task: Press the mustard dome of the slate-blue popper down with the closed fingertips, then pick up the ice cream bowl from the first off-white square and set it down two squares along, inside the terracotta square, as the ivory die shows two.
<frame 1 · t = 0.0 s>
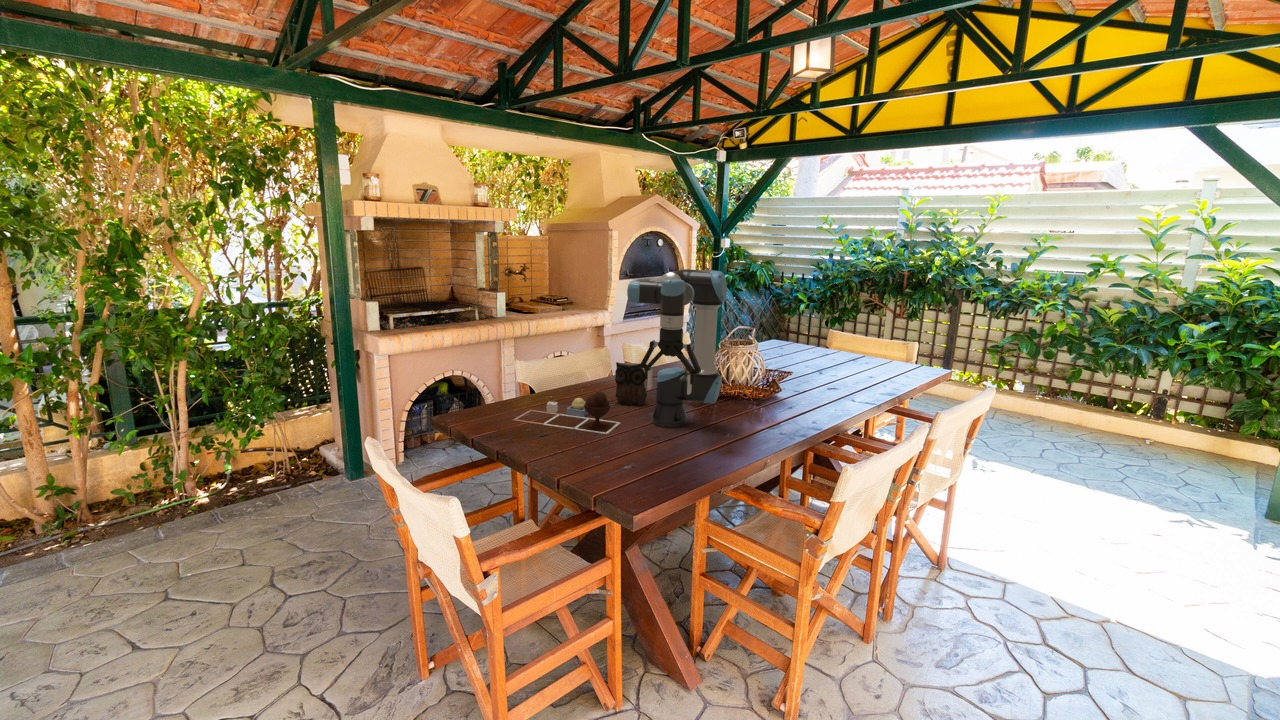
hand: (669, 391, 192), 28 cm above the table, fingers open, 13 cm apart
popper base: (578, 413, 256), on the table
ice cream bowl: (597, 426, 241), on the table
track: (566, 421, 245), on the table
die: (552, 411, 258), on the table
dome: (578, 403, 255), point 5 cm above the table, slide at 0.0 cm
owl: (632, 403, 274), on the table
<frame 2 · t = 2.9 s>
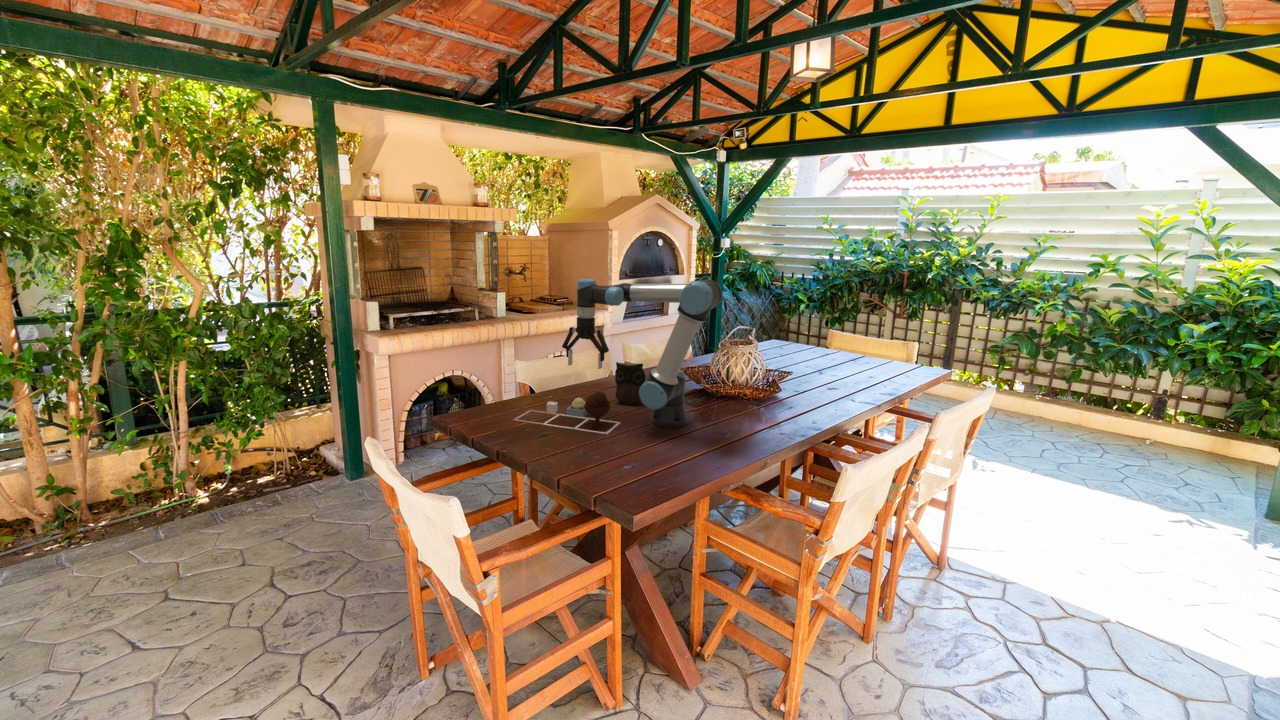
hand: (584, 366, 245), 23 cm above the table, fingers open, 13 cm apart
nothing on the table moved.
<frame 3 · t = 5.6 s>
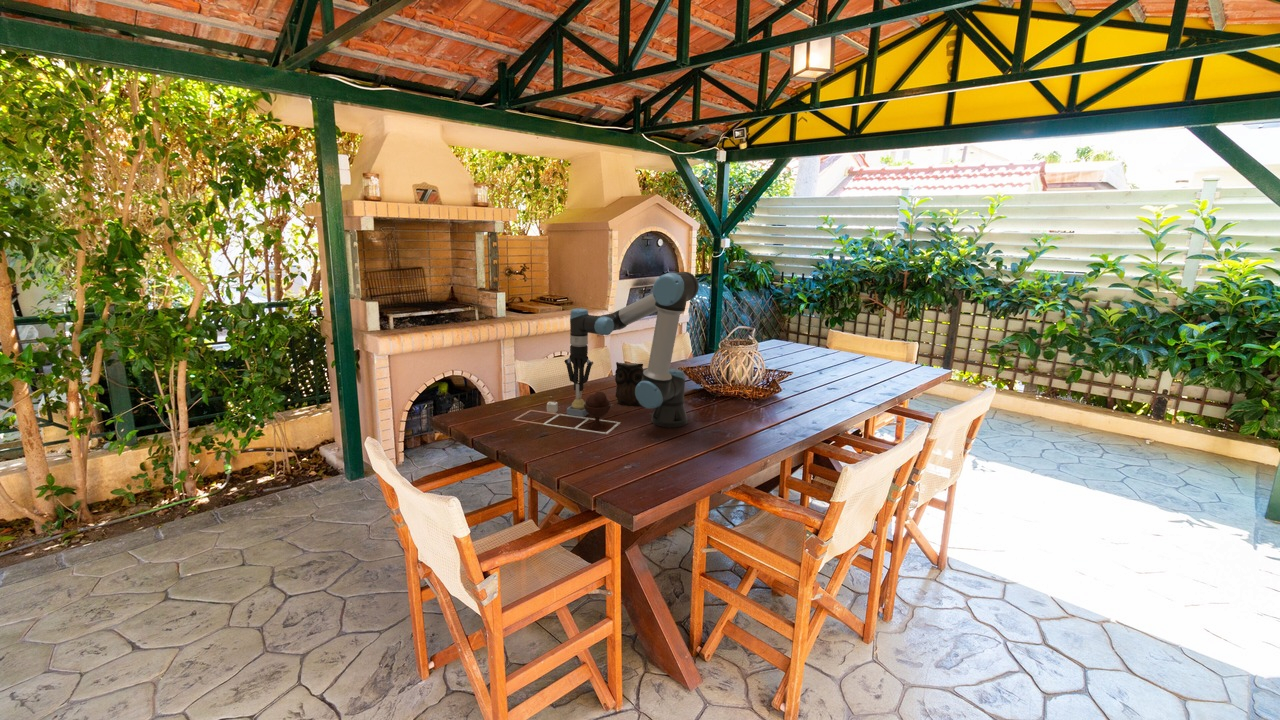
hand: (578, 397, 255), 7 cm above the table, fingers closed
dome: (578, 403, 255), point 4 cm above the table, slide at 0.2 cm, touching gripper
everything else where it was.
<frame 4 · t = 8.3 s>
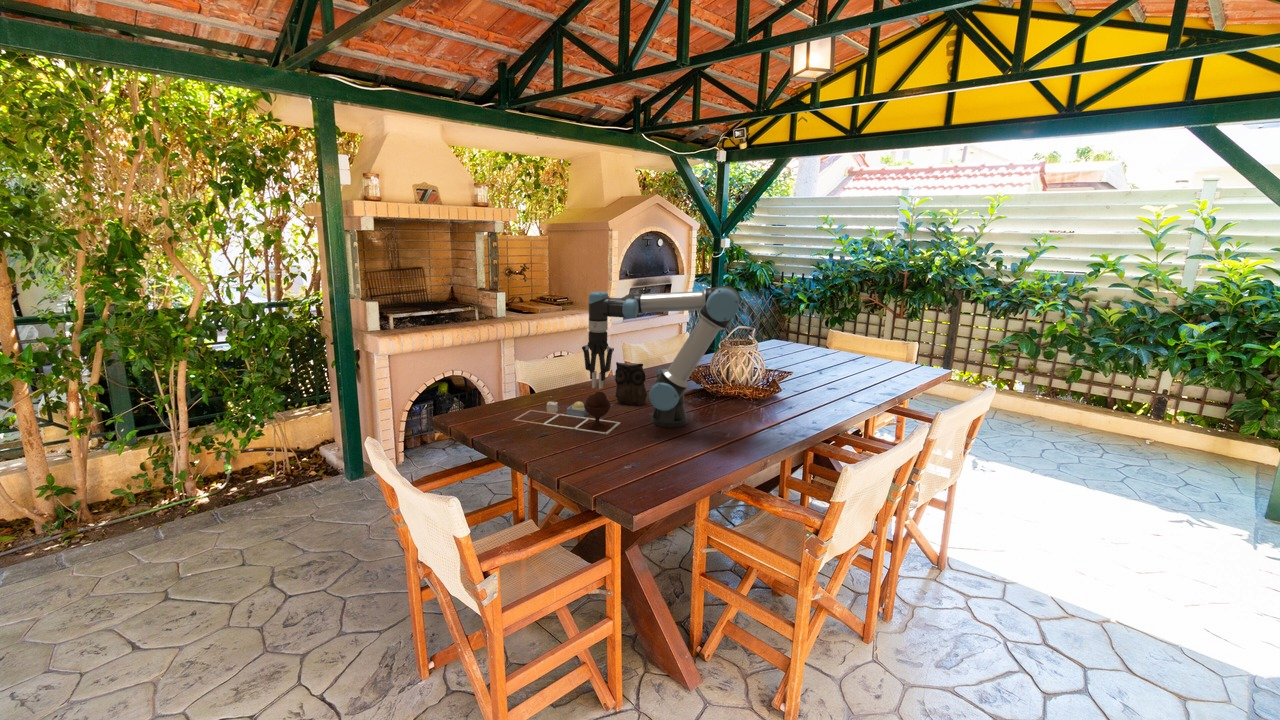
hand: (597, 387, 237), 16 cm above the table, fingers open, 2 cm apart
dome: (578, 407, 255), point 3 cm above the table, slide at 1.7 cm
everything else where it was.
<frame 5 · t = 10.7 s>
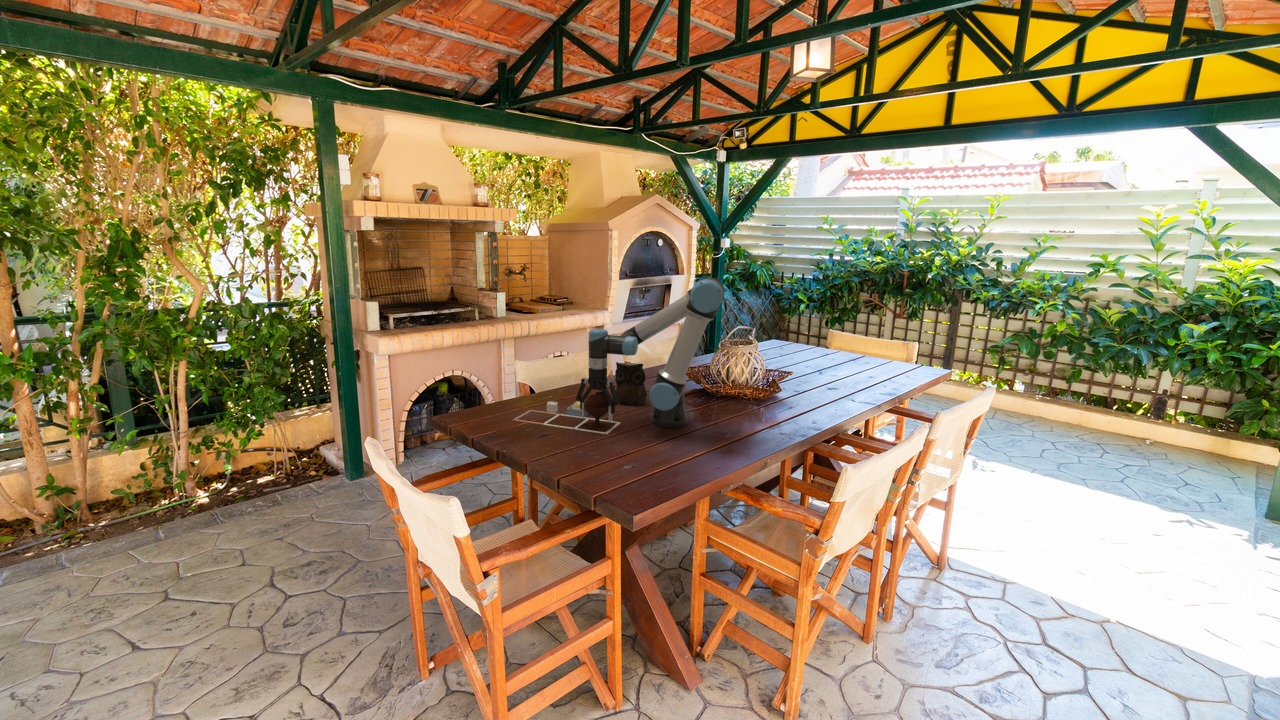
hand: (597, 419, 240), 3 cm above the table, fingers closed on ice cream bowl, 11 cm apart
ice cream bowl: (597, 426, 241), on the table, touching gripper
everything else where it was.
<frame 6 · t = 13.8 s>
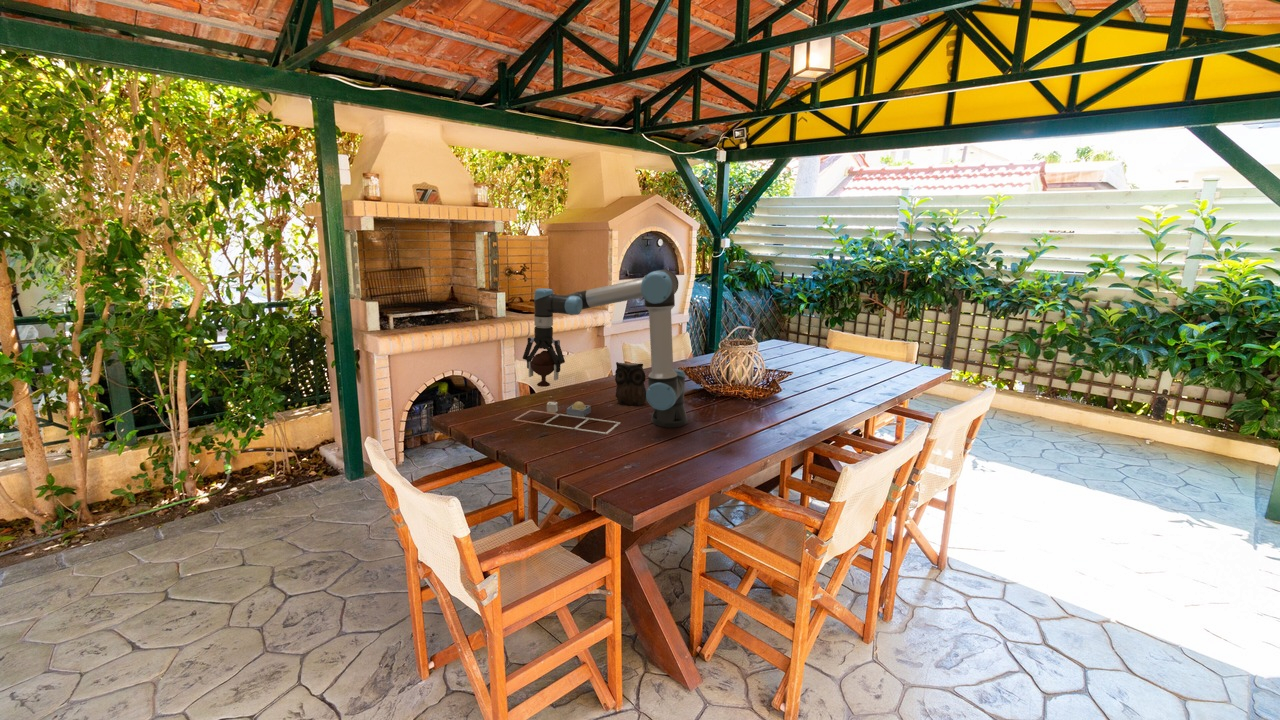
hand: (543, 377, 244), 18 cm above the table, fingers closed on ice cream bowl, 11 cm apart
ice cream bowl: (543, 385, 245), point 15 cm above the table, touching gripper
everything else where it was.
when the fingers open (4 cm above the table, at t = 17.2 s): ice cream bowl stays where it is, on the table.
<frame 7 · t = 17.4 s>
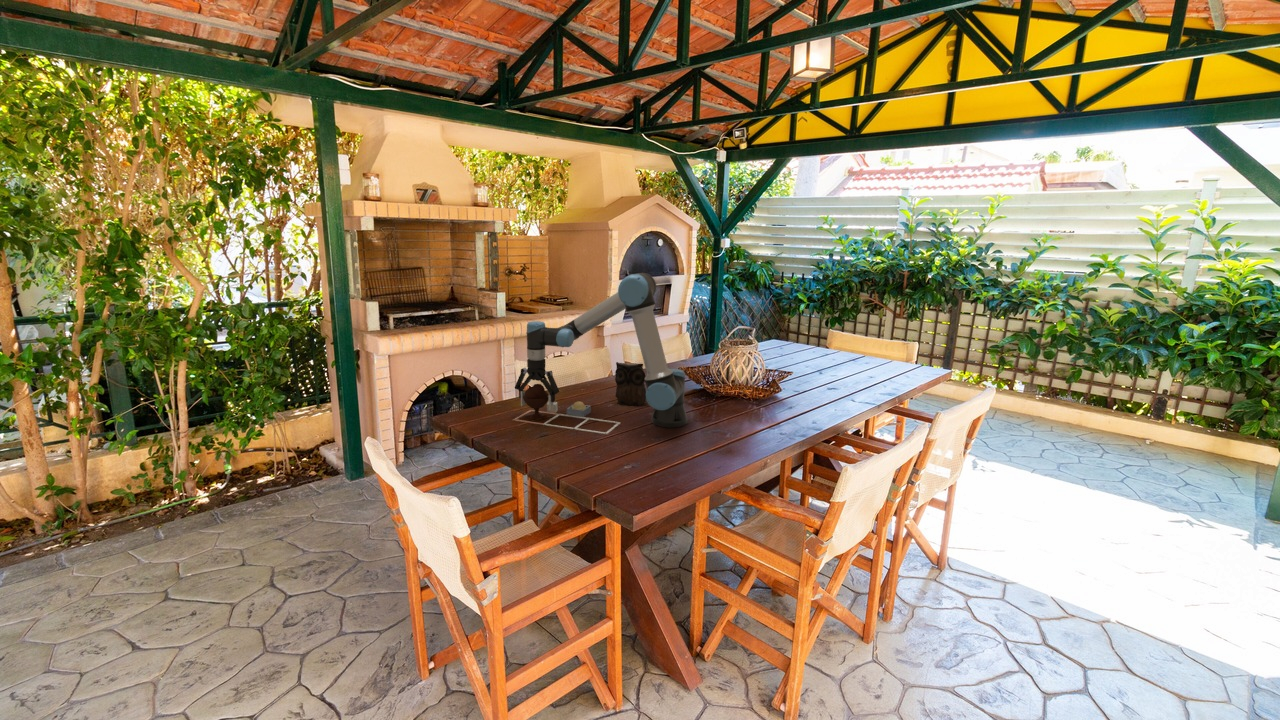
hand: (537, 407, 248), 5 cm above the table, fingers open, 13 cm apart
ice cream bowl: (536, 417, 250), on the table
everything else where it was.
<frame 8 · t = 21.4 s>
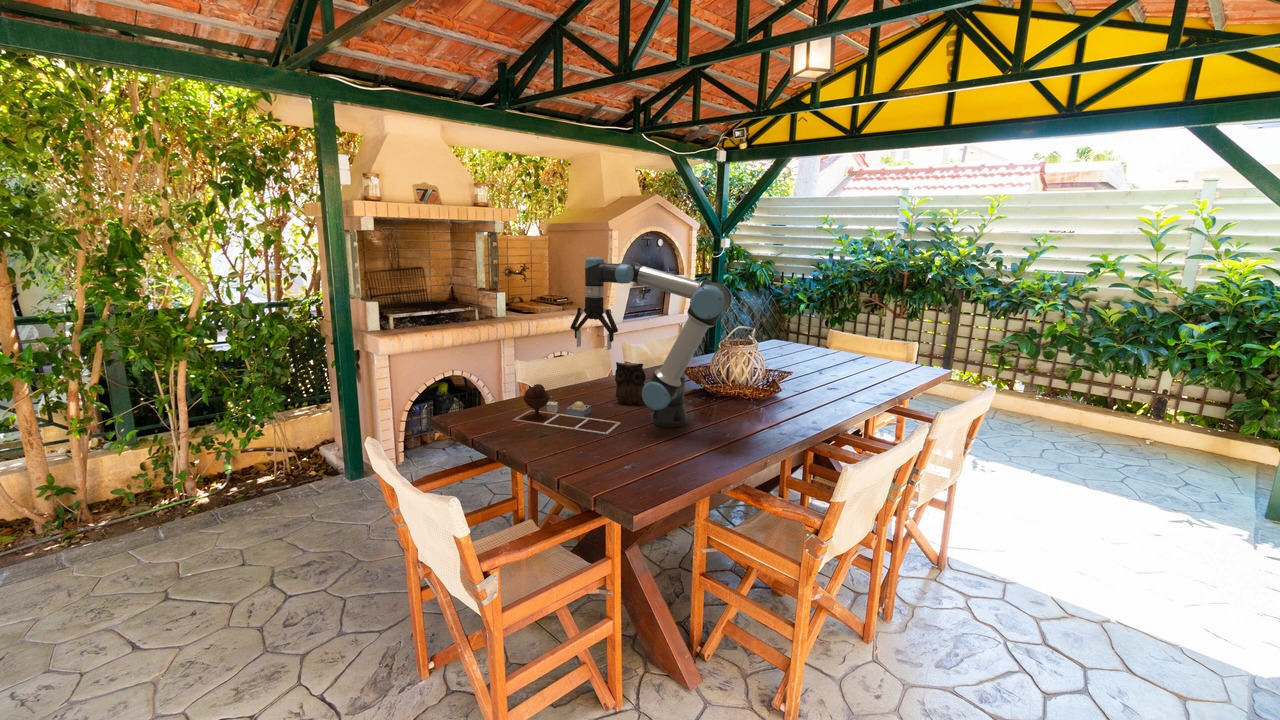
hand: (593, 348, 239), 32 cm above the table, fingers open, 13 cm apart
nothing on the table moved.
at the end: dome slide at 1.7 cm; ice cream bowl inside the target area (0.2 cm from its centre), on the table; ice cream bowl tilted 0° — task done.
